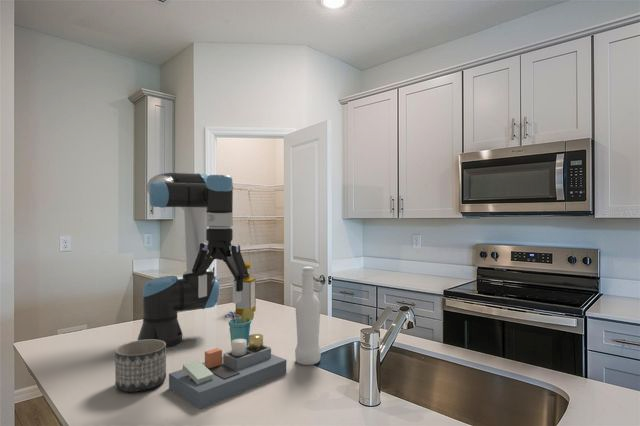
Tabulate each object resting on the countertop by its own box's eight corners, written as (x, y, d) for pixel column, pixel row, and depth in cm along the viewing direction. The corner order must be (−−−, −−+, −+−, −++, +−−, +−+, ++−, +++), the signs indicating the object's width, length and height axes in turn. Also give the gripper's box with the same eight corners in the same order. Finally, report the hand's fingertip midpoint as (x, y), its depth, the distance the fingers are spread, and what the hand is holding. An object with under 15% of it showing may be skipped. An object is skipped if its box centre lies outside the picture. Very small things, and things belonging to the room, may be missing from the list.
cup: (235, 362, 121) (235, 314, 121) (215, 358, 125) (215, 312, 124) (259, 347, 134) (259, 305, 134) (241, 344, 137) (241, 302, 137)
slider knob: (204, 365, 107) (204, 351, 107) (217, 361, 110) (217, 347, 110) (209, 368, 105) (209, 353, 105) (222, 364, 108) (222, 349, 108)
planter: (130, 374, 112) (130, 338, 112) (173, 375, 112) (173, 339, 112) (105, 395, 100) (105, 355, 100) (153, 395, 99) (153, 355, 99)
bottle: (301, 368, 117) (301, 269, 117) (291, 358, 124) (291, 266, 124) (325, 363, 121) (325, 267, 121) (313, 354, 128) (313, 264, 128)
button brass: (245, 347, 115) (245, 336, 115) (257, 344, 118) (257, 333, 118) (254, 351, 112) (254, 339, 112) (265, 347, 115) (265, 336, 115)
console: (168, 388, 103) (168, 363, 103) (253, 359, 124) (253, 338, 124) (199, 409, 93) (199, 381, 92) (286, 373, 113) (286, 350, 113)
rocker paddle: (182, 369, 102) (182, 364, 102) (197, 364, 105) (198, 359, 105) (197, 384, 97) (198, 379, 96) (212, 378, 100) (213, 373, 100)
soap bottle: (231, 316, 174) (231, 264, 174) (241, 309, 186) (241, 261, 186) (246, 317, 172) (246, 265, 172) (255, 310, 185) (255, 261, 185)
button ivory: (228, 353, 110) (228, 341, 110) (240, 349, 113) (240, 337, 113) (237, 357, 107) (237, 344, 107) (249, 353, 110) (249, 340, 110)
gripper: (179, 226, 116) (179, 296, 116) (243, 229, 104) (243, 307, 104) (198, 225, 123) (198, 292, 123) (261, 228, 110) (260, 302, 111)
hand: (219, 299), depth 113 cm, fingers open, 13 cm apart
